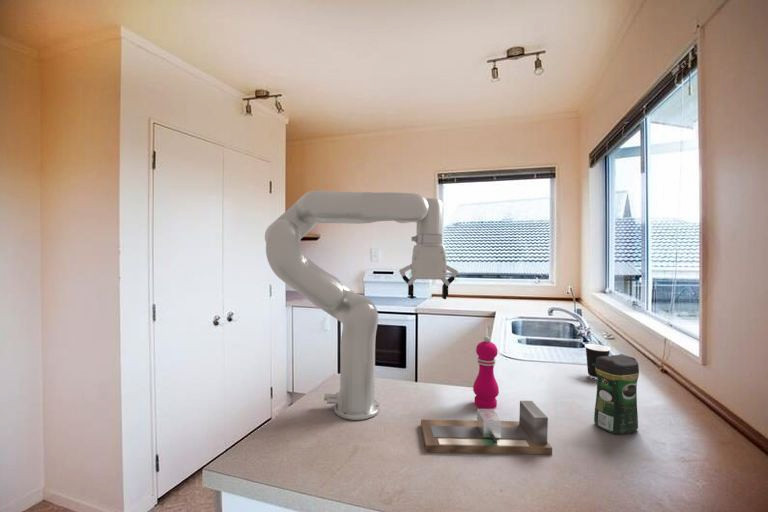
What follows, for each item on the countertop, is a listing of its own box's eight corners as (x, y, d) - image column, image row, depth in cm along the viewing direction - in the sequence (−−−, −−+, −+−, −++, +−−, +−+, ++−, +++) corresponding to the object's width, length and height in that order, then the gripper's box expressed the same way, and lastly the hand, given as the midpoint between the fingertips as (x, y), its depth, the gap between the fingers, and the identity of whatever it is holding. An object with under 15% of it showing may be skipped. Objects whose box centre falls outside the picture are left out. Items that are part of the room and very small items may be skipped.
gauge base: (426, 451, 81) (426, 418, 81) (420, 425, 93) (421, 396, 93) (552, 454, 81) (553, 421, 81) (530, 427, 93) (531, 398, 93)
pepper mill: (499, 411, 102) (501, 340, 101) (473, 408, 103) (474, 338, 102) (497, 400, 109) (498, 334, 108) (472, 398, 110) (473, 332, 110)
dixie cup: (597, 373, 134) (598, 343, 134) (615, 381, 126) (616, 349, 126) (578, 374, 132) (579, 344, 132) (595, 382, 125) (596, 350, 124)
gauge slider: (486, 444, 81) (487, 426, 81) (476, 424, 90) (477, 408, 90) (504, 444, 81) (505, 426, 81) (493, 425, 90) (493, 409, 90)
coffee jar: (614, 417, 99) (617, 350, 98) (643, 432, 91) (646, 358, 91) (587, 422, 96) (589, 352, 95) (614, 437, 88) (617, 362, 88)
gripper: (400, 240, 104) (399, 299, 104) (460, 241, 104) (459, 300, 104) (399, 240, 111) (398, 296, 112) (455, 241, 111) (454, 297, 112)
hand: (427, 298), depth 108 cm, fingers open, 9 cm apart
